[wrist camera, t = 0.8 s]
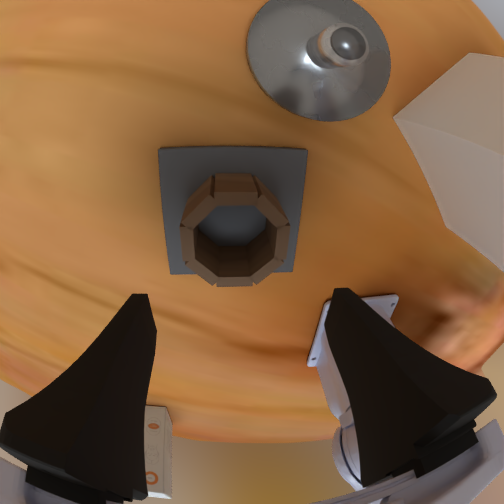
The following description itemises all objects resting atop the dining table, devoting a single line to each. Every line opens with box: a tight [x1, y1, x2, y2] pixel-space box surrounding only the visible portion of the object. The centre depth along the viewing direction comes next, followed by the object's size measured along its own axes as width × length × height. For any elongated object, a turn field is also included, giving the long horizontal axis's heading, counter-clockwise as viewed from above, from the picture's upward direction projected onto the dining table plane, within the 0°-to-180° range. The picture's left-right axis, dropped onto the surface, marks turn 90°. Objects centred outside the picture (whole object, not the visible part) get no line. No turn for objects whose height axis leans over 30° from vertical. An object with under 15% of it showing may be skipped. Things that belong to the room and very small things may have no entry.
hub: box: [246, 0, 391, 121], centre depth 11 cm, size 9×9×4 cm
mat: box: [158, 146, 308, 274], centre depth 18 cm, size 9×9×1 cm
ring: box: [179, 173, 290, 287], centre depth 16 cm, size 6×6×4 cm
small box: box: [144, 406, 172, 499], centre depth 27 cm, size 8×6×13 cm
